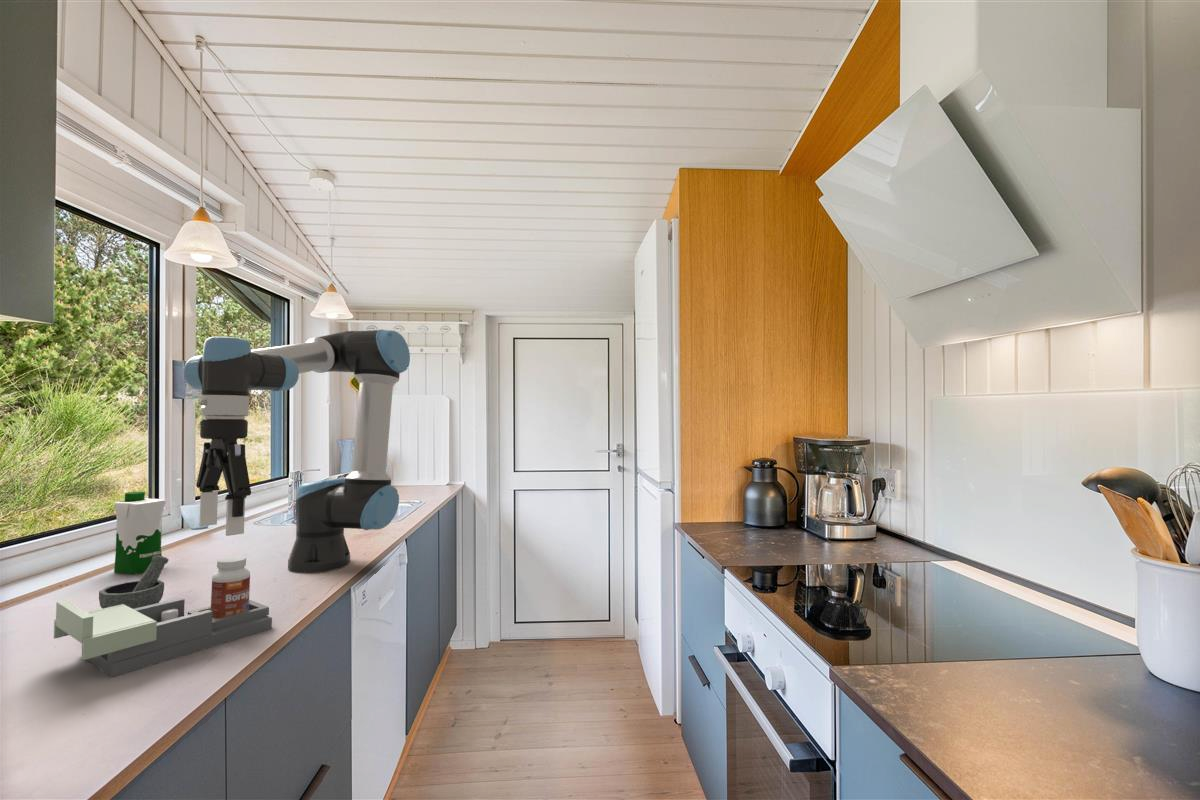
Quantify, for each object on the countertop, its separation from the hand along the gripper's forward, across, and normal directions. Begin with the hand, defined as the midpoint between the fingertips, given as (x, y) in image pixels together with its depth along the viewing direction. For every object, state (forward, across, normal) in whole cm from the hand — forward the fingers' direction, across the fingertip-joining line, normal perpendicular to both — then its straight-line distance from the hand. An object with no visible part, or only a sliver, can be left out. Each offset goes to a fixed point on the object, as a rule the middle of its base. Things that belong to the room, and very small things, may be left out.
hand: (220, 529), depth 105 cm
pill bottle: (+17, 0, +2) cm, 17 cm away
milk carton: (+19, -63, +2) cm, 65 cm away
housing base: (+19, 0, -6) cm, 20 cm away
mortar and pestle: (+19, -19, -8) cm, 28 cm away
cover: (+15, +1, -17) cm, 22 cm away
